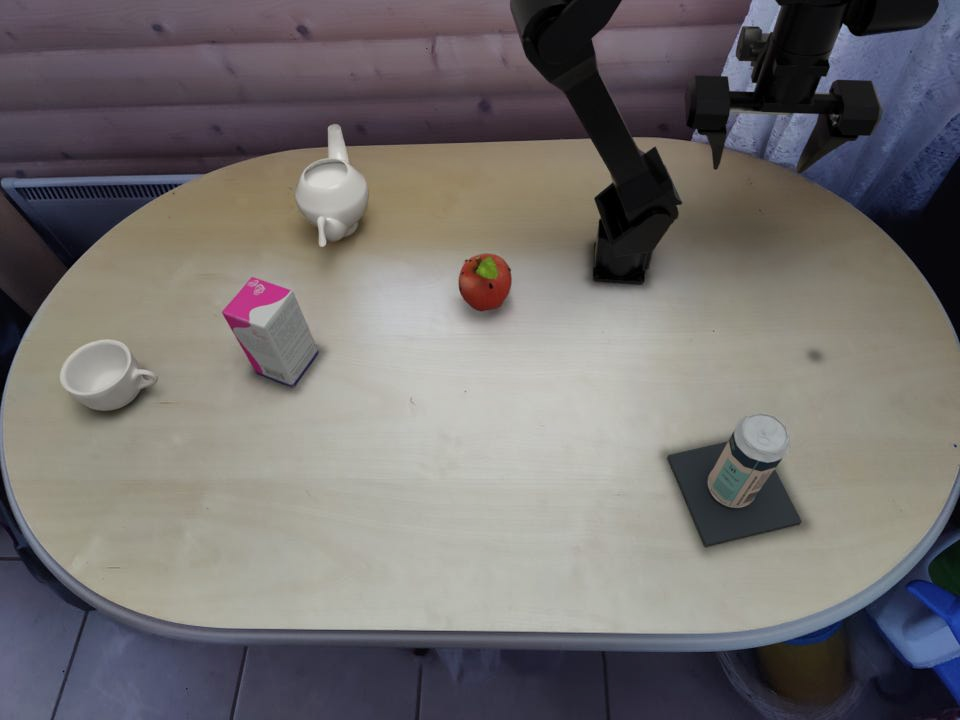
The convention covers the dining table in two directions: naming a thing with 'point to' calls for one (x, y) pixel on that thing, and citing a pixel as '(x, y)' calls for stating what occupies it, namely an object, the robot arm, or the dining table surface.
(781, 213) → the dining table surface
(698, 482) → the mat
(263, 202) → the dining table surface
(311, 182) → the teapot
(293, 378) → the supplement box
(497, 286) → the apple
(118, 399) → the teacup
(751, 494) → the cream label cylinder
